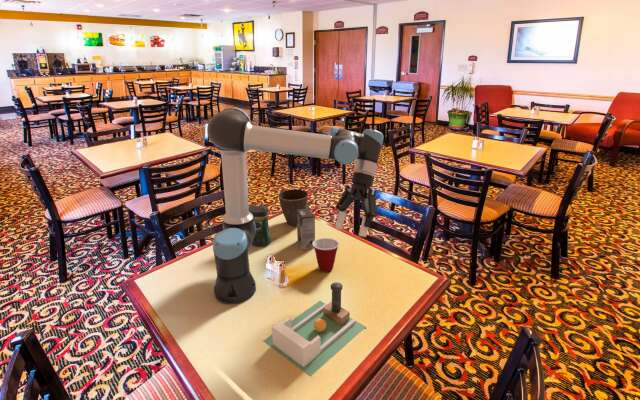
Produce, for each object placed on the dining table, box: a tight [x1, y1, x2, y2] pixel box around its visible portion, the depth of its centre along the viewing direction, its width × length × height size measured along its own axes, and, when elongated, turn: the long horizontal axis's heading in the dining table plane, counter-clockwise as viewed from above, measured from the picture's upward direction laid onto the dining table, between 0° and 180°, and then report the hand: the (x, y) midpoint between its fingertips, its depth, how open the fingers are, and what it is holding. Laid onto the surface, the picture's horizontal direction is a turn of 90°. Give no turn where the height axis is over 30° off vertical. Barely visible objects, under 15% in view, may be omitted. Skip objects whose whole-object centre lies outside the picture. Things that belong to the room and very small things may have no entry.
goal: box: [271, 316, 321, 367], centre depth 109 cm, size 13×7×7 cm, turn 48°
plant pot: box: [277, 188, 309, 227], centre depth 188 cm, size 15×15×16 cm
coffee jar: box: [249, 204, 272, 247], centre depth 169 cm, size 10×8×19 cm
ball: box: [314, 319, 326, 332], centre depth 117 cm, size 4×4×4 cm
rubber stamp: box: [323, 281, 351, 326], centre depth 121 cm, size 8×4×12 cm, turn 48°
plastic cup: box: [312, 237, 340, 273], centre depth 150 cm, size 11×11×12 cm
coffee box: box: [296, 207, 316, 251], centre depth 168 cm, size 9×6×16 cm
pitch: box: [262, 300, 367, 377], centre depth 116 cm, size 20×26×2 cm
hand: (349, 232), depth 130 cm, fingers open, 13 cm apart
